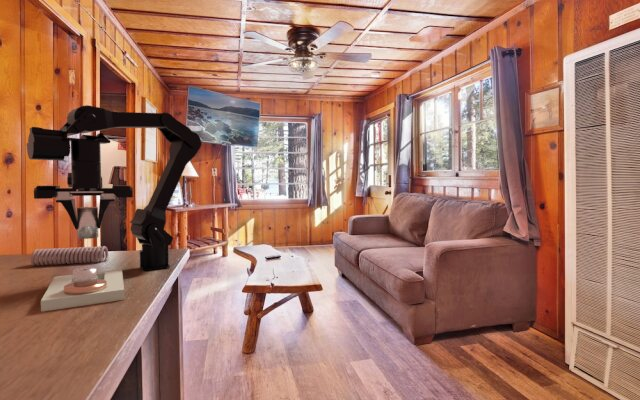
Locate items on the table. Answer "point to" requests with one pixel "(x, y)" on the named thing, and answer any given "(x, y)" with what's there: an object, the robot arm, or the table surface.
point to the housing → (60, 300)
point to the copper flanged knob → (85, 282)
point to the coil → (69, 255)
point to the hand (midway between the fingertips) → (88, 228)
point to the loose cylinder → (87, 222)
